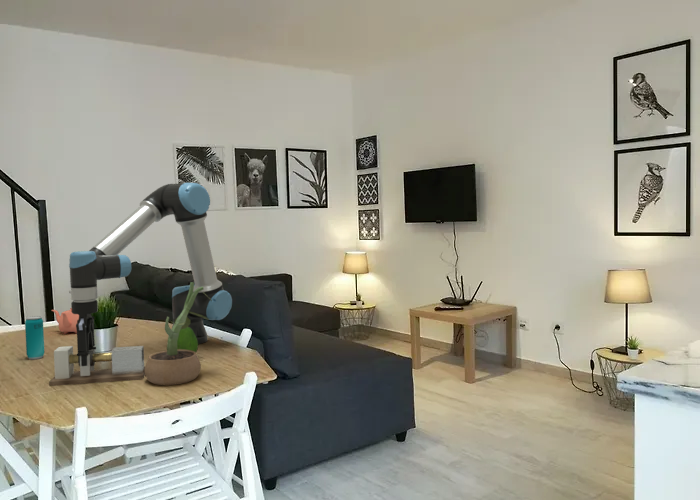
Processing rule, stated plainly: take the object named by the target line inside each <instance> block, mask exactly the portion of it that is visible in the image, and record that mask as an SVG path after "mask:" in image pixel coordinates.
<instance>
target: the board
mask: <svg viewBox="0 0 700 500" xmlns="http://www.w3.org/2000/svg"><path fill="white" fill-rule="evenodd" d="M145 377H146V376H145V366H144V371H143V373H133V374H119V375H112V368H104V369H94V371H90V376H80V370H74V374H73V375H72V376H71V377H70V378H67V379H55V376H53V377H52V378H51V379H50V381H49V382H48V386H49V385H52V386H64V385H77V384H78V385H79V384H80V385H81V384H93V383H95V384H96V383H107V382H121V381H135V380H143V379H144V378H145Z"/></svg>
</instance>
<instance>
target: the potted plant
mask: <svg viewBox="0 0 700 500" xmlns="http://www.w3.org/2000/svg"><path fill="white" fill-rule="evenodd" d="M189 285H190V288H189V293H188V296H187V298H186V301H185V305H184V309H183V311H182V313H181V314H180V315H179V317H177V318H176V319H175V324H174V326H173V325H172V326H173V327H171V328H170V325H169V322H170V323H172V324H173V323H174V322H173V321H170V316H166V319H165V323H164V331H165V333H166V334H167V336H168V337H167V343H166V350H161V351H157V352H153V353H151V354H150V355H149V356H148V358H147V361H146V363H145V364H144V367H145V376H144V377H146V380H147V381H148V382H150V383H152V384H154V385H157V386H158V385H159V386H172V385H173V386H175V385H182V384H186V383H188V382H192V381H193V380H196V378H197V377H198V376H199V375H200V372H201V369H202V366H201V365H202V364H201V361H200V359H199V357H198V354H197V351H196V352H194V351H191V350H181V349H179V350H177V340H178V336H179V332H180V329H184V328H187V327H188V326H189V325H190V319H189V318H188V317H187V315H188V312H189V313H191V314H194V315H197V316H200V317H202V318H205V320H209V319H208V318H207V317H205V316H203V315H200V314H197V313H194V312H191V311H189V310H190V309H191V307H192V305H193V303H194V300H195V298H196V295H197V294H198V292H200V291H201V290H204V289H203V286H202V287H199V288H197V289H196V290H195V291H194V292H193V289H194V285H195V282H194V281H193V282H191V281H190V284H189ZM203 293H204V292H203ZM204 294H205V293H204ZM205 295H206V294H205ZM206 296H207V295H206ZM207 297H208V296H207ZM208 298H209V297H208ZM209 299H210V298H209ZM210 300H211V299H210ZM211 301H212V300H211Z"/></svg>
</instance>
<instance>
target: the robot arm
mask: <svg viewBox="0 0 700 500" xmlns="http://www.w3.org/2000/svg"><path fill="white" fill-rule="evenodd" d="M210 205H211V197H210V194H209V192H208V191H207V189H206V188H205V186H203V185H201V184H200V183H197V182H179V183H167V184H165V185H162V186H160V187H158V188H156V190H154V191H152V192H151V193H150V194H149V195H147V196H146V197H145V198H144V199H143V200H142V201H140V203H139V207H138V208H137V209H136V210H134V211H133V212H131V213H130V214H129V216H127V217H126V218H125V219H124V220H123V221H121V222H120V223H119V224H118V225H117V226H115V227H114V228H113V229H112V230H111V231H110V232H109V233H107V235H105V236H104V237H103V238H102V239H100V240H99V241H98V242H97V243H96V244H95V245H94V246H92V247H91V249H89V250H84V251H82V250H81V251H72V252H71V253H70V255H69V264H68V267H69V278H70V281H69V282H70V290H69V291H68V292H69V294H71V295H70V297H71V298H70V299H71V305H70V306H71V307H70V308H72V313H73V314H78V315H79V320H77V324H76V329H77V334H76V344H77V345H76V346H77V353H76V354H77V356H80V366H79V371H80V376H90V371H94V370H95V365H94V366H90V354H89V353H88V350H96V349H97V346H95V345H96V344H95V343H96V341H95V317H94V316H92V314H94V313H97V312H98V311H99V306H98V305H99V304H98V300H97V299H98V297H99V295H98V281H100V280H108V279H109V280H111V279H121V278H126V277H128V276H129V275H130V274H131V272H132V262H131V259H130V257H128V256H127V255H126V254H120V253H122V252H123V250H125V249H126V247H128V246H129V245H130V244H132V243H133V242H134V241H135V240H136V239H137V238H138V237H139V236H140V235H142V234H143V232H145V231H146V230H147V229H148V228H150V226H151V225H153V224H154V223H157V222H160V221H161V220H162V219H164V218H165V217H167V216H170V215H171V216H172V215H173V216H174V218H175V219H174V220H175V223H176V224H178V225H180V227H181V230H182V235H183V239H184V243H185V244H184V245H185V248H186V253H187V257H188V262H189V264H190V265H189V266H190V269H191V273H192V277H193V283H194V289H193V292H194V291H195V290H196V289H197V288H199V287H202V286H203V289H204V290H201V291H200V292H198V294H197V295H196V298H195V300H194V303H193V305H192V307H191V309H190V310H189V311H191V312H194V313H197V314H200V315H203V316H205V317H207V318H208V319H209V320H210V321H221V320H223V319H225V318H226V317H227V315H229V313H230V311H231V309H232V305H233V298H232V295H231V293H229V292H228V291H227V290H224V285H223V282H222V281H220V280H219V279H218V277H217V272H216V269H215V265H214V259H213V256H212V250H211V246H210V241H209V236H208V232H207V227H206V223H205V219H206V218H207V216H208V213H207V211H208V210H209V208H210ZM189 288H190V284H189V285H183V286H176V287H174V288H173V289H172V293H171V294H172V295H171V304H172V305H171V306H172V322H174V323H172V327H173V326H174V324H175V319H176V318H177V317H179V315H180V314H181V313H182V311H183V309H184V305H185V301H186V298H187V296H188V293H189ZM203 292H204V293H205V294H206V295H207V296H208V297H209V298H210V299H211V300H212V301H211V300H210V299H209V298H208V297H207V296H206V295H205V294H204V293H203ZM187 317H188V318H189V319H190V325H189V326H188V327H190V328H191V329H192V330H193V332H194V334H195V336H196V338H197V341H198V345H200V344H204V343H206V342H208V339H209V338H208V333H207V331H206V327H205V325H204V320H203V319H205V318H202V317H200V316H197V315H194V314H191V313H189V312H188V315H187ZM205 320H206V319H205ZM172 327H171V328H172ZM88 354H89V355H88Z"/></svg>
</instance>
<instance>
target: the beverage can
mask: <svg viewBox="0 0 700 500" xmlns="http://www.w3.org/2000/svg"><path fill="white" fill-rule="evenodd" d="M24 329H25V349H26V350H25V352H26V354H25V355H26V356H27V358H28V359H29V360H40V359H43V357H44V355H45V335H44V319H43V316H42V315H34V316H33V315H32V316H27V317H26V318H25V321H24Z"/></svg>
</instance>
